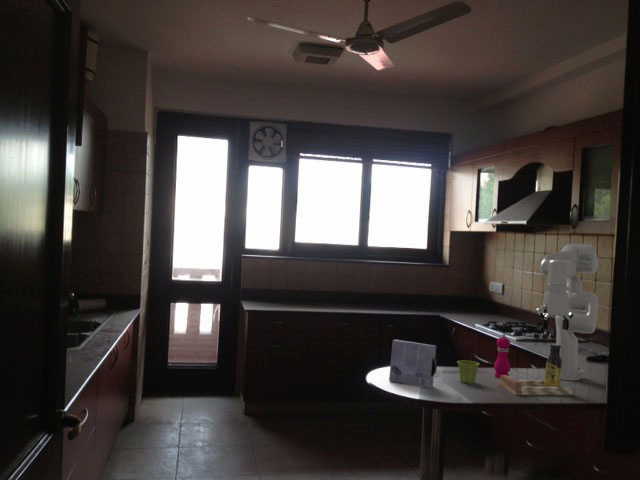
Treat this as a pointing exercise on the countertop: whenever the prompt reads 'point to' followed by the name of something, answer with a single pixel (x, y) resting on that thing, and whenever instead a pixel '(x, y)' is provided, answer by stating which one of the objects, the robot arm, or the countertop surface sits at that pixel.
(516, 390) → the guide track
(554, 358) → the sauce bottle
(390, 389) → the countertop surface
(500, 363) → the pepper mill
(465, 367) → the plant pot
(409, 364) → the cake pan box
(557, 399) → the countertop surface
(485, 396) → the countertop surface
